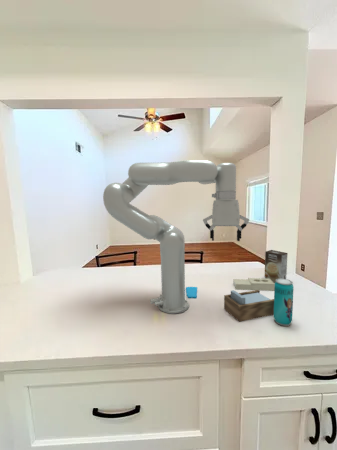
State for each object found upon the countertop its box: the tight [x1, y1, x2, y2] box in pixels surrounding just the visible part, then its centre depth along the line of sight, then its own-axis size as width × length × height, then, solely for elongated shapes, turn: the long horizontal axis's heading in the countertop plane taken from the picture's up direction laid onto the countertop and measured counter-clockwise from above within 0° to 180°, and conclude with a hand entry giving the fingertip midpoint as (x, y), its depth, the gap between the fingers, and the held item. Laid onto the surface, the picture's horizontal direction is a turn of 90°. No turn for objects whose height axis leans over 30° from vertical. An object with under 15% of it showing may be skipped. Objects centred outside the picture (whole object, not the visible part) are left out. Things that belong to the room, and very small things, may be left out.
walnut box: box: [223, 290, 274, 323], centre depth 83 cm, size 16×10×6 cm, turn 107°
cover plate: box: [230, 289, 271, 305], centre depth 83 cm, size 13×7×4 cm, turn 107°
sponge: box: [185, 286, 198, 299], centre depth 101 cm, size 2×12×6 cm
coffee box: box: [263, 249, 288, 284], centre depth 113 cm, size 9×6×16 cm
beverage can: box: [273, 278, 294, 327], centre depth 74 cm, size 6×6×15 cm
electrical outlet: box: [232, 277, 275, 292], centre depth 107 cm, size 7×4×18 cm
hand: (225, 240), depth 84 cm, fingers open, 9 cm apart
